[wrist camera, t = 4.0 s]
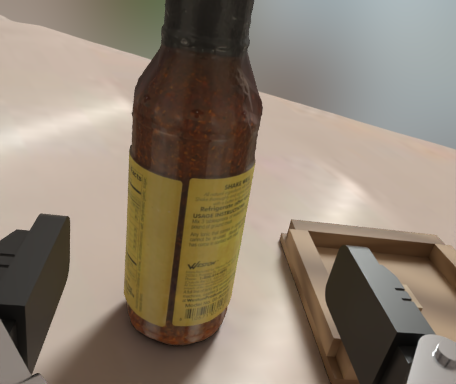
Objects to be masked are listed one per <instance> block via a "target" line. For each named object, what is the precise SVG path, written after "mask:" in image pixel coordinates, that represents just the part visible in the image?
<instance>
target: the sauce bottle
mask: <svg viewBox="0 0 456 384" xmlns="http://www.w3.org/2000/svg"><path fill="white" fill-rule="evenodd" d="M253 4H254V0H166V3H165V20H164V25H163V26H162V31H161V36H162V40H161V47H160V49H159V50H158V52H157V53H156V55H155V56H154V58H153V59H152V61H151V62H150V64H149V65H148V66H147V68H146V69H145V70H144V72H143V74H142V75H141V76H140V78H139V79H138V82H137V85H136V87H135V93H134V104H133V112H132V116H133V125H132V145H131V146H130V150H129V177H128V208H127V235H126V256H125V280H124V295H125V298H126V300H127V308H128V314H129V316H130V320H131V323H132V325H133V326H134V327H135V329H136V330H137V331H139V332H141V333H142V334H144V335H145V336H147V337H150V338H152V339H155V340H157V341H159V342H162V343H165V344H169V345H187V344H192V343H194V342H200V341H203V340H205V339H206V338H208V337H210V336H212V335H213V334H214V333H215V332H216V331H217V330H218V328H219V326H220V325H221V324H222V322H223V319H224V317H225V314H226V311H227V306H228V304H229V302H230V298H231V295H232V289H233V283H234V278H235V272H236V266H237V260H238V255H239V250H240V246H241V240H242V234H243V228H244V222H245V217H246V212H247V206H248V201H249V195H250V189H251V184H252V178H253V172H254V166H255V150H256V140H257V136H258V130H259V126H260V120H261V116H262V109H263V107H262V101H261V98H260V96H259V93H258V90H257V86H256V82H255V79H254V75H253V71H252V68H251V64H250V61H249V56H248V53H247V48H248V46H249V44H250V40H249V37H248V36H249V28H250V24H251V13H252V10H253Z"/></svg>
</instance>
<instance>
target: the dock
mask: <svg viewBox="0 0 456 384" xmlns="http://www.w3.org/2000/svg"><path fill="white" fill-rule="evenodd" d="M280 241H281V244H282V247H283V250H284V253H285V256H286V258H287V261H288V264H289V267H290V270H291V273H292V275H293V278H294V281H295V284H296V287H297V290H298V292H299V295H300V298H301V301H302V304H303V307H304V309H305V312H306V315H307V318H308V321H309V324H310V326H311V329H312V332H313V335H314V338H315V340H316V343H317V346H318V349H319V352H320V355H321V357H322V360H323V363H324V366H325V369H326V372H327V374H328V377H329V380H330V383H331V384H360V383H359V381H358V378H357V376H356V374H355V371H354V369H353V367H352V364H351V362H350V359H349V357H348V355H347V352H346V350H345V347H344V345H343V343H342V340H341V338H340V336H339V333H338V331H337V328H336V326H335V324H334V321H333V319H332V316H331V314H330V312H329V309H328V307H327V304H326V300H325V288H326V284H327V281H328V278H329V275H330V272H331V270H332V267H333V264H334V261H335V258H336V256H337V253H338V250H339V248H340V247H341V246H342V245H349V246H359V247H367V248H369V249H370V251H371V252H372V254H373V255H374V257H375V258H376V260H377V262H378V263H379V265H383V266H385V267H386V268H387V269H388V270H389V271H391V272H392V273H393V274H394V275H395V276H396V277H397V278H398V279H399V281H400V282H401V284H402V285H403V287H404V288H405V291H407V293H408V294H409V296H410V297H411V299H412V301H413V302H414V303H415V304H416V306H417V307H418V309H419V310H420V312H421V313H422V315H423V316H424V318H425V319H426V320H427V322H428V323H429V325H430V326H431V328H432V329H433V331H434V332H435V334H436V335H439V336H443V337H446V338H448V339H450V340H452V341H454V342H456V250H455V249H454V248H453V247H452V246H451V245H445V244H444V243H443V242H442V240H441V239H440V238H439V237H438V236H437V235H432V234H423V233H414V232H404V231H395V230H386V229H376V228H367V227H358V226H348V225H339V224H330V223H320V222H311V221H302V220H292V219H291V222H290V226H289V229H288V233H287V234H284V233H281V237H280Z"/></svg>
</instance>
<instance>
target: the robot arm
mask: <svg viewBox="0 0 456 384" xmlns="http://www.w3.org/2000/svg"><path fill="white" fill-rule="evenodd" d="M69 263H70V218H69V217H68V216H60V215H50V214H40V215H39V216H38V217H37V219H36V221H35V223H34V224H33V226H32V228H31V229H30V231H27V230H15V231H14V232H12V233H11V234H9V235H8V236H6V237H5V238H3V239H2V240H1V241H0V384H47V382H46V380H45V379H44V377H43V376H42V375H41V374H39V373H37V374H35V375H32V373H33V370H34V367H35V365H36V362H37V359H38V357H39V354H40V351H41V349H42V346H43V343H44V341H45V338H46V335H47V333H48V330H49V327H50V325H51V322H52V319H53V316H54V314H55V311H56V308H57V306H58V303H59V300H60V298H61V295H62V292H63V290H64V287H65V284H66V281H67V277H68V272H69ZM325 300H326V304H327V307H328V309H329V312H330V314H331V316H332V319H333V321H334V324H335V326H336V328H337V331H338V333H339V336H340V338H341V340H342V343H343V345H344V347H345V350H346V352H347V355H348V357H349V359H350V362H351V364H352V367H353V369H354V371H355V374H356V376H357V378H358V381H359V383H360V384H456V342H454V341H452V340H450V339H448V338H446V337H443V336H439V335H436V334H435V332H434V331H433V329H432V328H431V326H430V325H429V323H428V322H427V320H426V319H425V318H424V316H423V315H422V313H421V312H420V310H419V309H418V307H417V306H416V304H415V303H414V302H413V301H412V299H411V297H410V296H409V294H408V293H407V291H405V288H404V287H403V285H402V284H401V282H400V281H399V279H398V278H397V277H396V276H395V275H394V274H393V273H392V272H391V271H389V270H388V269H387V268H386V267H385V266H383V265H379V263H378V262H377V260H376V258H375V257H374V255H373V254H372V252H371V251H370V249H369V248H367V247H359V246H349V245H342V246H341V247H340V248H339V250H338V253H337V256H336V258H335V261H334V264H333V267H332V270H331V272H330V275H329V278H328V281H327V284H326V288H325Z"/></svg>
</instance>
